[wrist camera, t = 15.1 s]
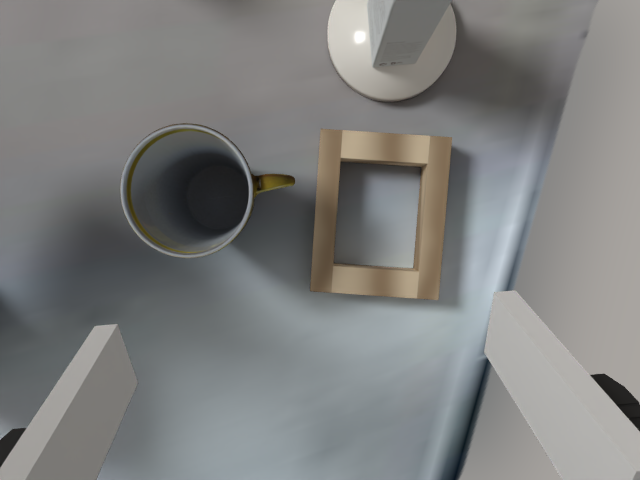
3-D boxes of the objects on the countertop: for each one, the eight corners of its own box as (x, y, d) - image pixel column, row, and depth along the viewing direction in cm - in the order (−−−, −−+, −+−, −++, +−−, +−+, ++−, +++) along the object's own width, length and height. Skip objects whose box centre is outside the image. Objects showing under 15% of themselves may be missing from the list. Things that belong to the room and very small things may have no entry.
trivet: (323, 97, 40) (323, 94, 38) (331, -30, 39) (332, -38, 38) (447, 105, 40) (450, 102, 38) (457, -23, 39) (462, -30, 38)
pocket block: (310, 286, 41) (310, 291, 38) (321, 134, 40) (320, 128, 37) (431, 294, 41) (438, 300, 38) (444, 142, 40) (451, 137, 37)
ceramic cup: (178, 253, 41) (130, 265, 31) (163, 153, 40) (109, 132, 30) (307, 237, 40) (301, 244, 30) (294, 136, 40) (284, 109, 30)
